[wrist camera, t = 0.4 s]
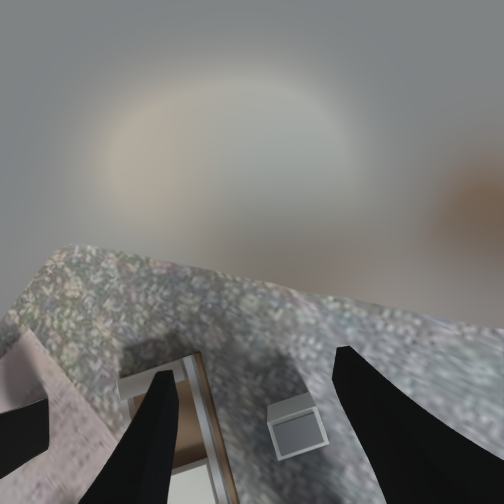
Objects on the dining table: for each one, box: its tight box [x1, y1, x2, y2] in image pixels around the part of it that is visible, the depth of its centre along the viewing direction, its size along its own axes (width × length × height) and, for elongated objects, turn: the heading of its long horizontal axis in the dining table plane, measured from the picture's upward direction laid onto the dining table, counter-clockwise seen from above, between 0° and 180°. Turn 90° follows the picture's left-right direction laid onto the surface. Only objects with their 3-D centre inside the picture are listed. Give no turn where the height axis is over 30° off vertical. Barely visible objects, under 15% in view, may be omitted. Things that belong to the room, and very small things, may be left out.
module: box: [267, 392, 329, 461], centre depth 33 cm, size 4×6×6 cm, turn 108°
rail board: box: [116, 352, 240, 504], centre depth 34 cm, size 25×12×4 cm, turn 18°
